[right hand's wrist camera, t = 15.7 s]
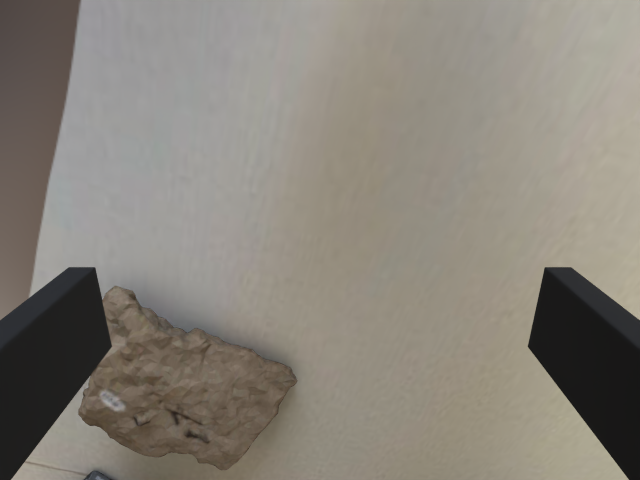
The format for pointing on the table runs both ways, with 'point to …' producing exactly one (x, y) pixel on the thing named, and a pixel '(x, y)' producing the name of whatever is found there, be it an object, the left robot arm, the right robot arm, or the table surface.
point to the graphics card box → (96, 476)
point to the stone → (179, 388)
